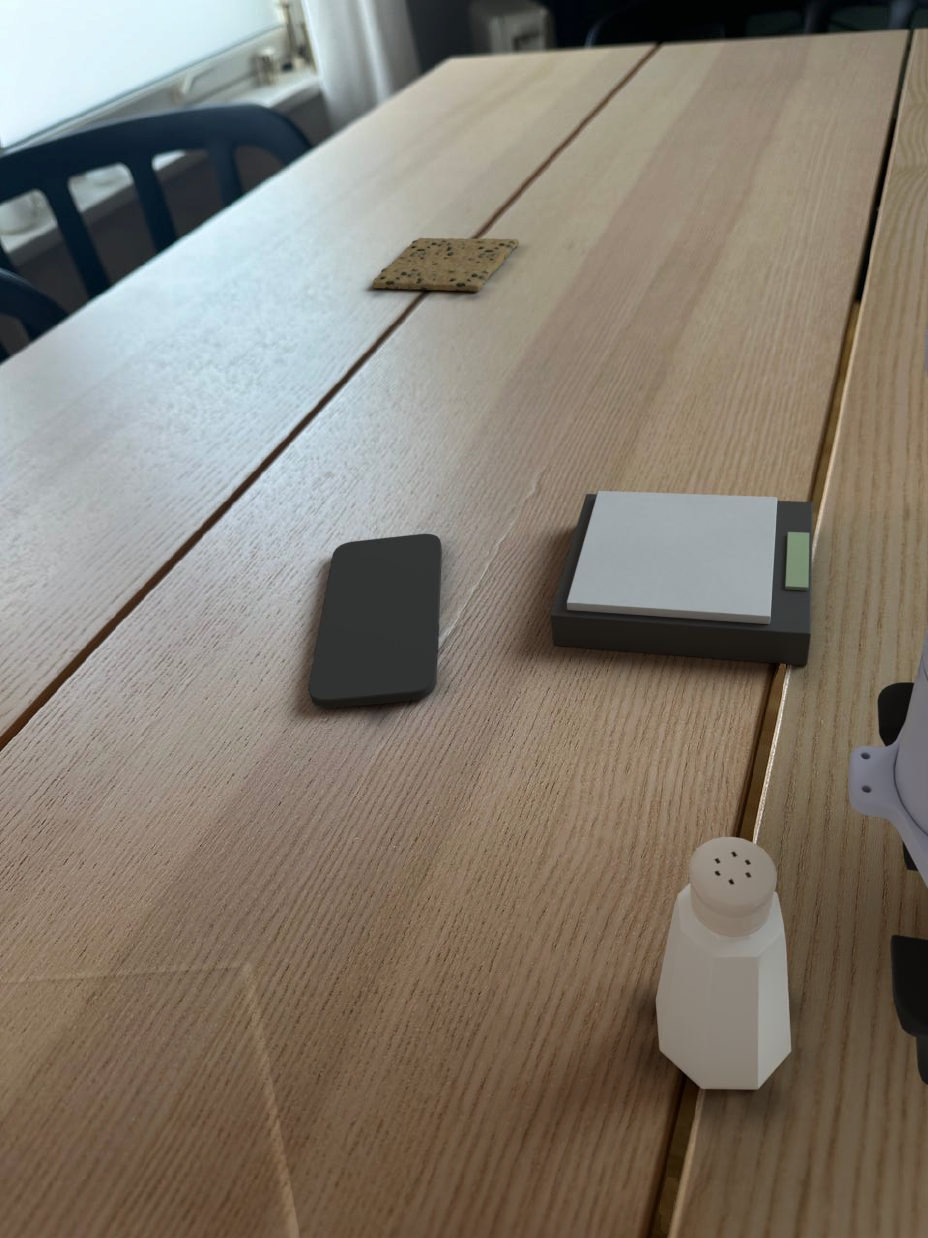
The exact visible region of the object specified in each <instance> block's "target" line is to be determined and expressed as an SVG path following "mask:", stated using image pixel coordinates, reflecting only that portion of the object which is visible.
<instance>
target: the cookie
mask: <svg viewBox="0 0 928 1238" xmlns="http://www.w3.org/2000/svg"><path fill="white" fill-rule="evenodd" d="M519 245H520V241H519V240H518V239H516V238H487V237H485V238H453V237H449V238H443V237H436V238H435V237H419V238H417V239H414V240H412V242H411V243H410V244H409V246H407V247H406V248H405V249H404V251H403V252H402V253H401V254H400V255H398V257H396V259H395V260H393V261H392V262H391V263H389V264H388V265H387V266H385V267H384V268H382V269H381V271H380V273H379V274H378V275H377V277H375V278H374V280H373V282H372V287H373V289H385V290H388V289H393V290H394V289H395V290H409V291H410V290H411V291H413V290H421V291H455V292H460V291H464V292H480V291H481V290H482V289H483V286H484V285H485V284H486V281H487V280H488V279H489V278H490V276H491V275H493V274H494V273H495V272H496V270H497V269H498V268H500V266H502V265H503V263H504V262H505V261H506V260H507V258H508V257H509V255H510V254H511V253H512V251H513V250H514V249H516V247H517V246H519Z"/></svg>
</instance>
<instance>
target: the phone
mask: <svg viewBox="0 0 928 1238" xmlns="http://www.w3.org/2000/svg"><path fill="white" fill-rule="evenodd" d="M442 563H443V548H442V543H441V539H440V537H439V536H437V535H435V534H432V533H418V534H417V533H416V534H408V535H407V534H406V535H398V536H389V537H380V538H372V539H371V538H370V539H362V540H361V539H360V540H353V541H347V542H344V543H342V544H340V545H339V546H336V548H335V549H334V551H333V553H332V556H331V561H330V566H329V572H328V578H327V581H326V588H325V594H324V600H323V604H322V609H321V610H322V611H321V615H320V616H321V617H320V621H319V627H318V631H317V639H316V643H315V649H314V654H313V658H312V659H313V660H312V666H311V671H310V677H309V682H308V694H309V697H310V700H311V702H312V704H313V705H314V706H315V707H318V708H321V709H333V708H334V709H335V708H346V707H357V706H368V705H378V704H379V705H380V704H390V703H400V702H401V703H402V702H407V701H408V702H410V701H417V700H421V699H424V698H426V697H428V696H430V695H431V694H432V693H433V692H434V690H435V689H436V686H437V682H438V681H437V679H438V662H439V661H438V659H439V657H438V655H439V643H440V641H439V637H440V613H441V612H440V611H441V609H440V607H441V586H442V585H441V584H442Z"/></svg>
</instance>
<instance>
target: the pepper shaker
mask: <svg viewBox="0 0 928 1238" xmlns="http://www.w3.org/2000/svg"><path fill="white" fill-rule="evenodd" d="M688 877H689V883H688V884H687V885H686V886H685V887H683V889H682V890H681V891H680V892H678V894H677V895H676V898H675V902H674V905H673V910H672V914H671V915H672V916H671V921H670V926H669V930H668V934H667V935H668V936H667V941H666V947H665V950H664V955H663V961H662V966H661V971H660V976H659V981H658V987H657V992H656V996H655V1009H656V1021H657V1023H656V1024H657V1033H658V1046H659V1052H661V1053H662V1054H663V1055H664V1056H665V1057H666V1058H667V1059H669V1060H670V1062H672V1063H673V1064H674V1066H676V1067H677V1068H678V1069H679V1070H681V1072H682V1073H684V1074H685V1075H686V1076H687V1077H688V1078H689V1079H690V1080H691V1081H692V1082H694V1083H695V1084H696V1085H697V1086H698V1087H699V1088H700V1089H701V1090H759V1089H760V1088H761V1087H762V1086H763V1085H764V1083H765V1082H766V1081H767V1080H768V1079H769V1077H770V1076H771V1075H772V1074H773V1073H774V1072H775V1071H776V1069H778V1067H779V1066H780V1065H781V1064H782V1063H783V1061H784V1060H785V1059H786V1058H787V1057H788V1056H789V1055H790V1053H791V1052H792V1039H791V1037H792V1036H791V1020H790V1017H791V1016H790V1000H789V999H790V996H789V978H788V977H789V976H788V975H789V974H788V957H787V956H788V955H787V941H786V934H785V933H786V932H785V925H784V920H783V914H782V908H781V903H780V899H779V895H778V892H777V891H775V890H776V888H777V882H778V873H777V867H776V864H775V863H774V861H773V859H772V857H771V856H770V855H769V854H768V853H767V851H765V849H763V848H762V847H761V846H759V845H757V844H756V843H755V842H752V841H750V840H748V839H745V838H741V837H736V836H721V837H716V838H712V839H709V840H708V841H705V842H704V843H702V844H701V845H700V846H698V847H697V848H696V849H695V850H694V852H693V854H692V855H691V858H690V859H689V864H688Z"/></svg>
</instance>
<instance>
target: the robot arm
mask: <svg viewBox="0 0 928 1238" xmlns="http://www.w3.org/2000/svg"><path fill="white" fill-rule="evenodd" d="M926 324H927V325H926V330H925V342H924V364H925V372H926V378H927V379H928V322H927V323H926ZM876 703H877V718H878V719H877V721H878V735H879V738H880V740H881V742H882V743H883V744H884V746H875V745H862V746H861V745H860V746H857V747H856V748H855V749H853V750H852V751H851V754H850V757H849V762H848V767H847V778H848V779H847V785H848V787H847V788H848V789H847V790H848V791H847V792H848V801H849V802H848V803H849V804H850V807H851V808H852V809H853V810H854V811H856V812H857V813H858V814H861V815H863V816H866V817H871V818H880V819H885V820H887V821H889V822H890V823H891V824H892V825H893V826H894V827H895V828H896V830H897V832H898V834H899V836H900V838H901V842H902V854H903V860H904V864H905V868H906V871H913V872H918V873H919V874H920V877H921V878H922V880H923V882H924V885H925V886H926V889H928V626H926V632H925V637H924V641H923V645H922V650H921V655H920V658H919V662H918V667H917V671H916V675H915V679H914V682H911V681H910V682H909V681H901V682H900V681H899V682H895V683H891V684H889V685H887V686H885V687H884V688H883V689H882V690H880V692H879V694H878V696H877V702H876ZM889 948H890V968H891V969H890V970H891V984H892V985H891V987H892V1000H893V1004H894V1008H895V1012H896V1015H897V1018H898V1022H899V1024H900V1027H901V1029H902V1030H903V1031H904V1032H905V1033H906V1034H907V1035H910V1036H912V1037H914V1038H915V1047H916V1062H917V1063H916V1064H917V1070H918V1074H919V1077H920V1079H921V1081H922V1082H923V1083H924V1084H925V1085H927V1086H928V939H925V938H919V937H911V936H905V935H901V934H900V935H899V934H892V935H891V938H890V942H889Z"/></svg>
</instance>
